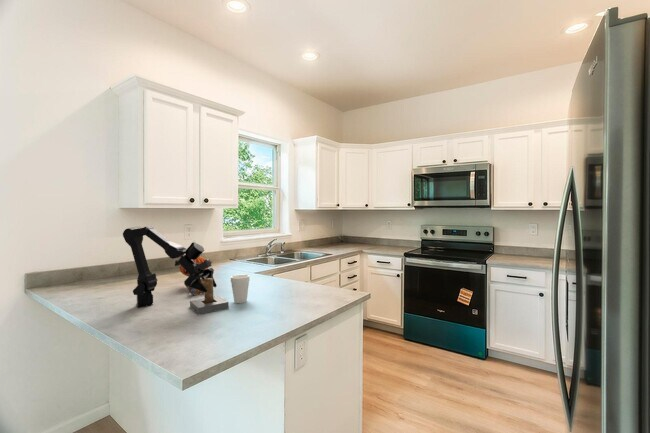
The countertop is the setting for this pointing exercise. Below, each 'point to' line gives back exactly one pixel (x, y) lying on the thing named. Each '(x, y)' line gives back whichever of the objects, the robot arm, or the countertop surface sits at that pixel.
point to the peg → (208, 290)
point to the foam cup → (240, 287)
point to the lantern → (198, 260)
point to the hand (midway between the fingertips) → (211, 289)
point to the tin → (195, 291)
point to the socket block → (209, 305)
